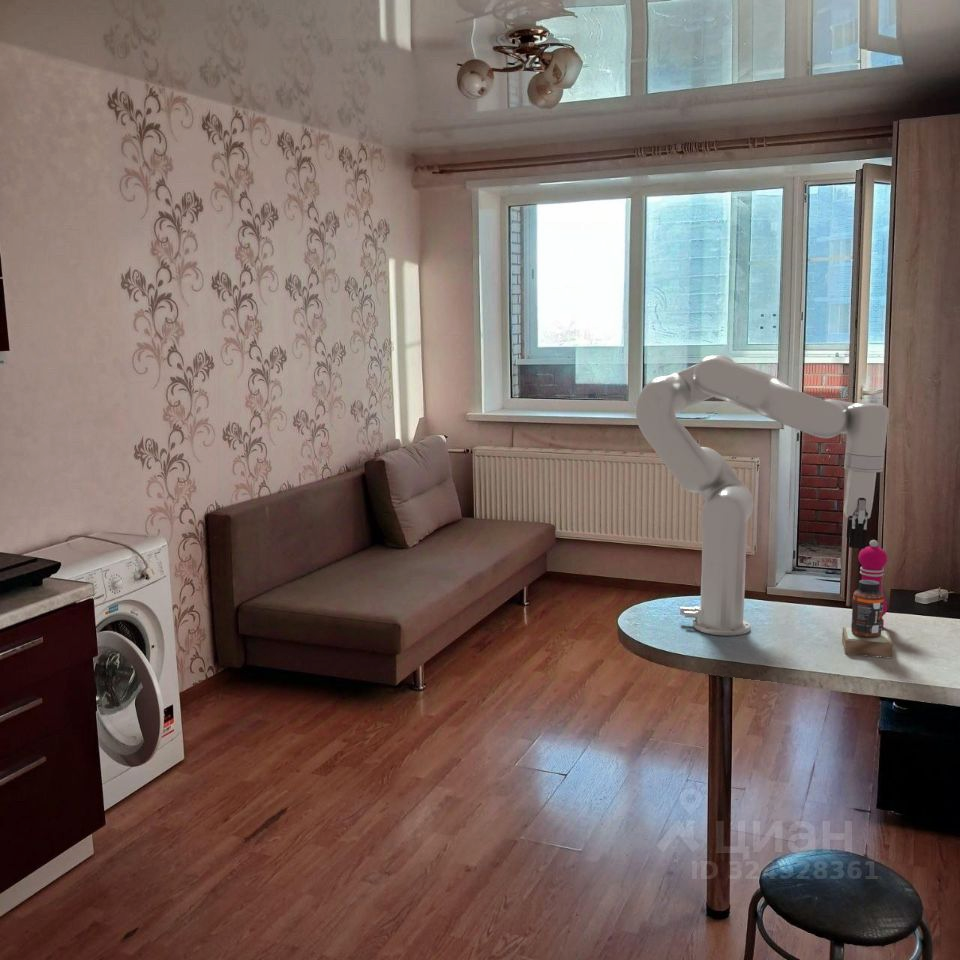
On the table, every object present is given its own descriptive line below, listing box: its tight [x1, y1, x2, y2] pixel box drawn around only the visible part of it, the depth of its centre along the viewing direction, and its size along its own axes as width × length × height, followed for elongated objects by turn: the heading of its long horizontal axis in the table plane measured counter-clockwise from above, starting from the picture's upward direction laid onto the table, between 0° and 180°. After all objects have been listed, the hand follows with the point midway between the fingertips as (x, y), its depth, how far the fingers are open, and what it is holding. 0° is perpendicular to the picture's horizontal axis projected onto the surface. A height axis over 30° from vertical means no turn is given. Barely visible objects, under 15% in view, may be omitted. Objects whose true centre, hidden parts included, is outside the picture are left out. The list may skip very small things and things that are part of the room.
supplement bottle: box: [850, 579, 885, 637], centre depth 202 cm, size 6×6×11 cm
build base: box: [841, 627, 894, 658], centre depth 203 cm, size 9×9×3 cm
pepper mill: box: [857, 539, 888, 629], centre depth 218 cm, size 7×7×20 cm
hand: (855, 542), depth 203 cm, fingers open, 9 cm apart
